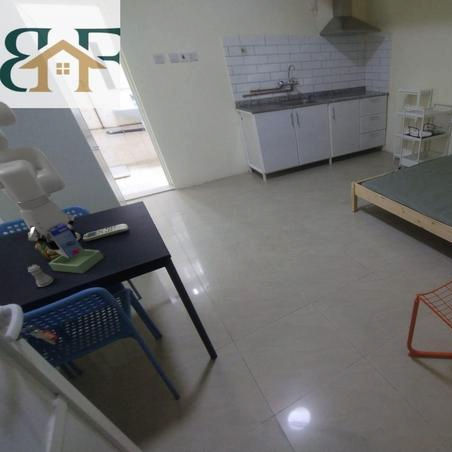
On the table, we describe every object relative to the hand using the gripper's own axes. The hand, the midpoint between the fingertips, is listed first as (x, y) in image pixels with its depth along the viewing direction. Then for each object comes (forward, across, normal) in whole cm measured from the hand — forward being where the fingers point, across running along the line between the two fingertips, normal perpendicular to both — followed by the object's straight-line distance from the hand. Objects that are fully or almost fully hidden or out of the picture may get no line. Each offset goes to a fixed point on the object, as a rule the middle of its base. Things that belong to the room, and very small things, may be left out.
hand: (64, 243), depth 105 cm
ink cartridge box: (+4, 0, 0) cm, 4 cm away
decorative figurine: (+10, -4, -15) cm, 19 cm away
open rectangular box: (+10, 0, 0) cm, 10 cm away
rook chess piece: (+10, +11, -2) cm, 15 cm away
